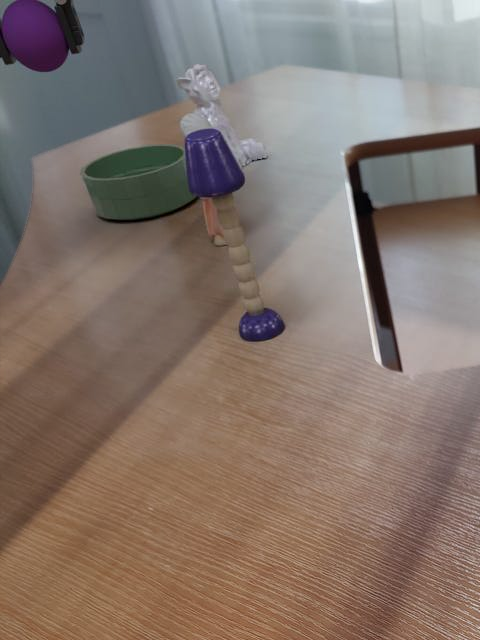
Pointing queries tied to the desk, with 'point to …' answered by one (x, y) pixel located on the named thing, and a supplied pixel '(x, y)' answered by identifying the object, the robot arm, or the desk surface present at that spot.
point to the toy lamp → (229, 223)
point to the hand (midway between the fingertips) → (43, 56)
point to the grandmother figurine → (210, 211)
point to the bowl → (138, 182)
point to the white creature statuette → (218, 113)
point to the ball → (34, 35)
